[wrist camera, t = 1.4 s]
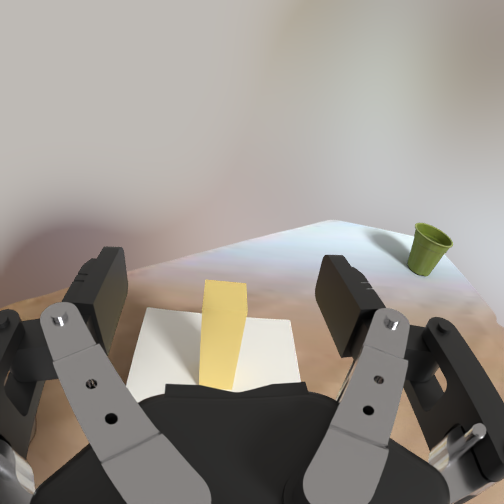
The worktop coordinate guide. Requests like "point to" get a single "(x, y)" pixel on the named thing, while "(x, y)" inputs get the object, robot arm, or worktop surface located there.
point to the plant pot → (427, 248)
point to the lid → (212, 346)
